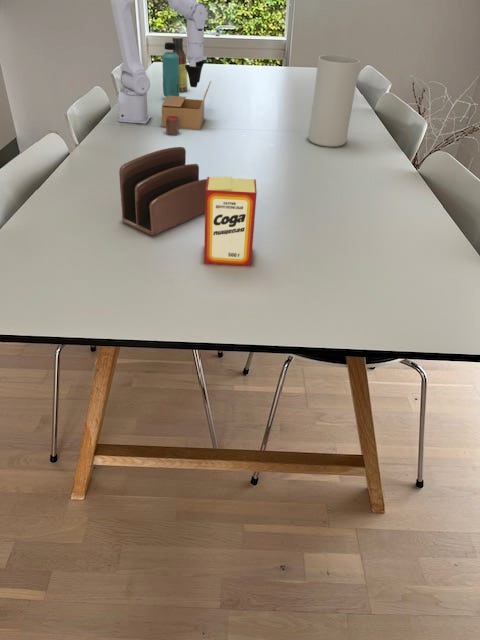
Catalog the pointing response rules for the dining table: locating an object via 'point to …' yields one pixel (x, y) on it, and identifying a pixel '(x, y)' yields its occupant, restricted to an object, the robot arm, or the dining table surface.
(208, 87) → the flap
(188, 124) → the carton
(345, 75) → the cylinder vase
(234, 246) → the baking soda box
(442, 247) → the dining table surface
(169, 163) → the letter holder
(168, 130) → the spice jar
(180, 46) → the sauce bottle
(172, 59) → the beverage bottle
